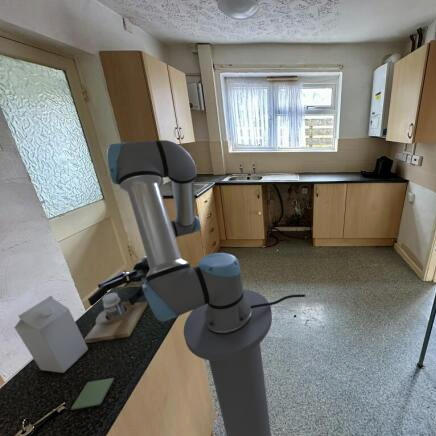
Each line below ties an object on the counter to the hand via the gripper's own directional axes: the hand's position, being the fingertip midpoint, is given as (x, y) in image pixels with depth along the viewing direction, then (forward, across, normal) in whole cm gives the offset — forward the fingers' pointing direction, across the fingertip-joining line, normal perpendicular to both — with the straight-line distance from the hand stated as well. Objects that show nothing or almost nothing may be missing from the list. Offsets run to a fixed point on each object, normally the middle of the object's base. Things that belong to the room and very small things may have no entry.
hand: (110, 302), depth 77 cm
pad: (+24, -12, -6) cm, 28 cm away
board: (+2, -2, -6) cm, 7 cm away
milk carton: (+15, +3, -7) cm, 17 cm away
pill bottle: (0, 0, -7) cm, 7 cm away
